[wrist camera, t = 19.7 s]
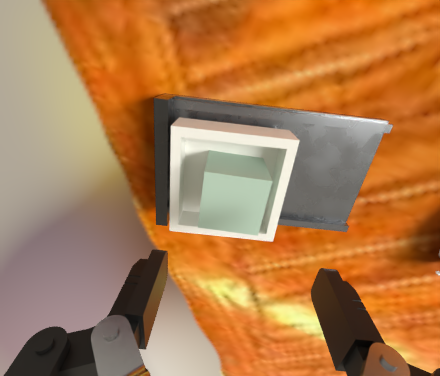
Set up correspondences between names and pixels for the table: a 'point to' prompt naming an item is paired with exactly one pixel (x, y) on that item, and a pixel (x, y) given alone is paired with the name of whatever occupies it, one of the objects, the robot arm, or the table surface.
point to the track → (304, 160)
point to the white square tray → (229, 143)
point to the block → (234, 193)
